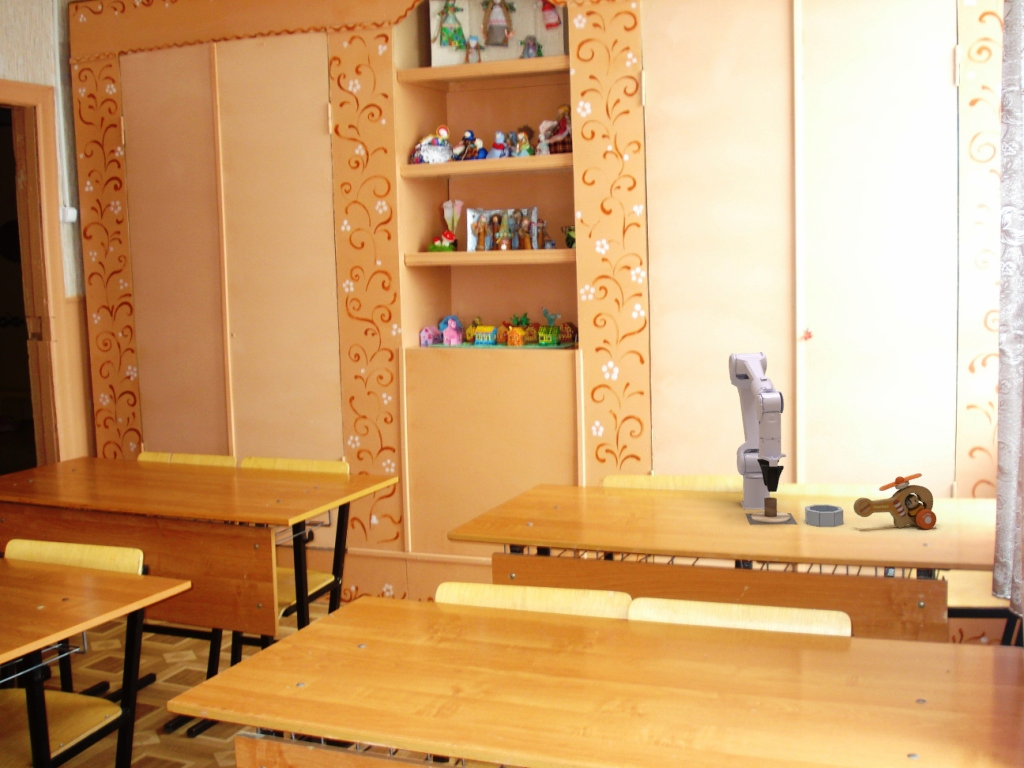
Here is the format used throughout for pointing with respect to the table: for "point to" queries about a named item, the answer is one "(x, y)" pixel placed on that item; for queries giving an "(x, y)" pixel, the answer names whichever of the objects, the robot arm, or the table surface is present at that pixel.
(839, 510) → the bowl
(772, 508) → the lid
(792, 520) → the mat
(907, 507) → the toy helicopter
